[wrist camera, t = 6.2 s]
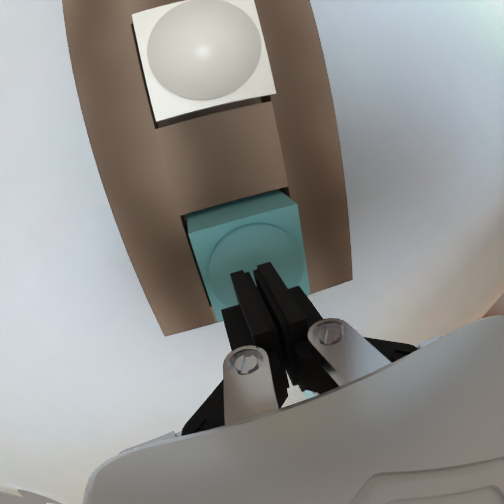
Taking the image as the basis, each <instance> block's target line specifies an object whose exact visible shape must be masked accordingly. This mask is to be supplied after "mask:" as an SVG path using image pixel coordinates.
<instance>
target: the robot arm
mask: <svg viewBox="0 0 504 504" xmlns="http://www.w3.org/2000/svg"><path fill="white" fill-rule="evenodd" d="M253 274H254V278H255V282H256V285H255V283H254V281H253V279H252V277H251V275H250V272H246V273H244V271H243V270H240V271H237V272H233V273H230V277H231V280H232V284H233V287H234V291H235V294H236V297H237V301H238V305H235V306H232V307H228V308H225V309H222V310H221V312H222V316H223V320H224V324H225V328H226V331H227V335H228V339H229V342H230V346H231V350H232V351H231V352H230V353H229V354H228V355H227V356H226V358H225V360H224V364H223V380H222V382H221V383H220V384H219V385H218V386H217V388H216V389H215V390H214V391H213V392H212V394H211V395H210V396H209V397H208V398H207V400H206V401H205V402H204V403H203V404H202V405H201V407H200V408H199V409H198V410H197V411H196V412H195V414H194V415H193V416H192V417H191V418H190V419H189V421H188V422H187V423H186V424H185V426H184V428H183V430H182V431H181V432H178V433H176V434H175V433H174V431H173V432H170V433H168V434H165V435H163V436H160V437H158V438H155V439H153V440H150V441H147V442H145V443H142V444H139V445H137V446H134V447H131V448H128V449H126V450H124V451H122V452H120V453H119V454H118V455H117V456H115V457H113V458H111V459H109V460H107V461H106V462H104V463H103V464H101V465H100V466H99V467H97V468H96V469H95V470H94V472H93V473H92V474H91V476H90V478H89V480H88V482H87V485H86V489H85V494H84V499H83V504H504V316H491V317H486V318H482V319H479V320H476V321H473V322H470V323H468V324H466V325H464V326H461V327H459V328H458V329H456V330H454V331H452V332H450V333H448V334H446V335H444V336H440V337H437V338H434V339H431V340H428V341H424V342H421V343H419V344H418V347H415V346H413V345H409V344H405V343H398V342H391V341H385V340H378V339H372V338H366V337H362V336H361V335H360V334H359V333H358V332H357V331H355V330H354V329H353V328H352V327H351V326H350V325H349V324H348V323H346V322H345V321H343V320H340V319H335V318H328V319H323V318H322V317H321V315H320V314H319V313H318V311H317V310H316V308H315V307H314V306H313V304H312V303H311V301H310V300H309V299H308V297H307V296H306V294H305V293H304V292H303V290H302V289H301V287H300V286H295V287H292V288H289V289H288V288H287V287H286V285H285V283H284V282H283V280H282V279H281V277H280V276H279V274H278V273H277V271H276V270H275V268H274V267H273V265H272V263H271V262H267V263H263V264H260V265H257V269H256V270H253ZM286 371H287V373H288V376H289V378H290V380H291V382H292V384H293V386H295V385H299V387H300V389H301V391H302V392H303V391H306V390H308V391H312V392H315V396H314V397H312V398H309V399H306V400H304V401H301V402H298V403H295V404H292V405H290V406H287V407H284V408H282V407H281V406H282V405H283V403H284V402H285V400H286V399H287V397H288V393H287V388H289V383H288V378H287V373H286Z"/></svg>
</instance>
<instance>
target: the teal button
mask: <svg viewBox="0 0 504 504" xmlns="http://www.w3.org/2000/svg"><path fill="white" fill-rule="evenodd" d="M187 222H188V235H189V238H190V241H191V244H192V248H193V251H194V254H195V257H196V260H197V263H198V266H199V269H200V272H201V275H202V278H203V281H204V284H205V287H206V290H207V293H208V296H209V299H210V302H211V304H212V307H213V310H214V313H215V316H216V319H217V322H221V321H224V320H223V316H222V312H221V310H222V309H225V308H228V307H232V306H235V305H238V301H237V297H236V294H235V291H234V287H233V284H232V280H231V277H230V273H233V272H237V271H240V270H243V271H244V273H246V272H250V275H251V277H252V279H253V281H254V283H255V285H256V282H255V278H254V274H253V270H256V269H257V265H260V264H263V263H267V262H271V263H272V265H273V267H274V268H275V270H276V271H277V273H278V274H279V276H280V277H281V279H282V280H283V282H284V283H285V285H286V287H287V288H288V289H289V288H292V287H295V286H300V287H301V289H302V290H303V292H304V293H305V294H306V295H310V287H309V279H308V272H307V265H306V258H305V251H304V244H303V238H302V231H301V225H300V218H299V212H298V206H297V203H295V202H294V201H293V200H292V199H290V198H289V197H288V196H287V195H285V194H284V193H283V192H281V191H280V190H279V189H276V190H272V191H268V192H264V193H260V194H256V195H252V196H249V197H245V198H241V199H237V200H234V201H230V202H226V203H223V204H219V205H216V206H212V207H208V208H205V209H201V210H198V211H194V212H191V213H188V214H187Z"/></svg>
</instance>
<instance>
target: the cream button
mask: <svg viewBox="0 0 504 504" xmlns="http://www.w3.org/2000/svg"><path fill="white" fill-rule="evenodd" d="M132 19H133V24H134V29H135V33H136V38H137V43H138V48H139V52H140V57H141V61H142V66H143V70H144V74H145V79H146V83H147V87H148V91H149V95H150V100H151V104H152V108H153V112H154V116H155V119H156V122H160V121H165V120H168V119H171V118H175V117H178V116H182V115H186V114H189V113H193V112H197V111H201V110H205V109H209V108H213V107H217V106H222V105H226V104H231V103H235V102H240V101H245V100H250V99H255V98H260V97H264V96H268V95H272V94H276V90H275V85H274V81H273V76H272V72H271V67H270V63H269V59H268V54H267V50H266V46H265V42H264V38H263V34H262V30H261V26H260V22H259V18H258V14H257V10H256V6H255V2H254V0H185V1H180V2H176V3H171V4H167V5H163V6H159V7H156V8H152V9H148V10H145V11H142V12H138V13H135V14H132Z"/></svg>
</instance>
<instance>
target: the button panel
mask: <svg viewBox="0 0 504 504" xmlns="http://www.w3.org/2000/svg"><path fill="white" fill-rule="evenodd" d="M180 1H185V0H62V4H63V13H64V20H65V28H66V35H67V41H68V47H69V53H70V59H71V64H72V69H73V74H74V79H75V84H76V88H77V93H78V97H79V102H80V106H81V110H82V114H83V118H84V122H85V126H86V129H87V133H88V137H89V140H90V144H91V148H92V151H93V154H94V158H95V161H96V164H97V168H98V171H99V174H100V177H101V180H102V183H103V187H104V190H105V193H106V195H107V198H108V201H109V204H110V207H111V210H112V213H113V216H114V218H115V221H116V224H117V226H118V229H119V232H120V234H121V237H122V240H123V242H124V245H125V247H126V250H127V252H128V255H129V257H130V260H131V262H132V265H133V267H134V270H135V272H136V274H137V277H138V279H139V281H140V284H141V286H142V288H143V291H144V293H145V295H146V297H147V300H148V302H149V304H150V306H151V308H152V311H153V313H154V315H155V317H156V319H157V321H158V323H159V325H160V327H161V330H162V332H163V334H164V336H169V335H173V334H177V333H180V332H184V331H188V330H192V329H195V328H199V327H203V326H206V325H210V324H213V323H217V319H216V316H215V313H214V310H213V307H212V304H211V302H210V299H209V296H208V293H207V290H206V287H205V284H204V281H203V278H202V275H201V272H200V269H199V266H198V263H197V260H196V257H195V254H194V251H193V248H192V244H191V241H190V238H189V235H188V222H187V214H188V213H191V212H194V211H198V210H201V209H205V208H208V207H212V206H216V205H219V204H223V203H226V202H230V201H234V200H237V199H241V198H245V197H249V196H252V195H256V194H260V193H264V192H268V191H272V190H276V189H279V190H280V191H281V192H283V193H284V194H285V195H287V196H288V197H289V198H290V199H292V200H293V201H294V202H295V203H297V206H298V212H299V218H300V225H301V231H302V238H303V244H304V251H305V258H306V265H307V272H308V279H309V287H310V294H312V293H315V292H318V291H321V290H324V289H327V288H330V287H333V286H336V285H339V284H342V283H344V282H347V281H350V280H352V260H351V245H350V231H349V219H348V208H347V198H346V189H345V180H344V172H343V164H342V157H341V149H340V142H339V136H338V129H337V123H336V117H335V111H334V105H333V100H332V95H331V89H330V84H329V79H328V74H327V69H326V65H325V60H324V55H323V51H322V47H321V42H320V38H319V34H318V30H317V26H316V22H315V18H314V15H313V11H312V7H311V4H310V0H254V2H255V6H256V10H257V14H258V18H259V22H260V26H261V30H262V34H263V38H264V42H265V46H266V50H267V54H268V59H269V63H270V67H271V72H272V76H273V81H274V85H275V90H276V94H272V95H268V96H264V97H260V98H255V99H250V100H245V101H240V102H235V103H231V104H226V105H222V106H217V107H213V108H209V109H205V110H201V111H197V112H193V113H189V114H186V115H182V116H178V117H175V118H171V119H168V120H165V121H160V122H156V119H155V116H154V112H153V108H152V104H151V100H150V95H149V91H148V87H147V83H146V79H145V74H144V70H143V66H142V61H141V57H140V52H139V48H138V43H137V38H136V33H135V29H134V24H133V19H132V14H135V13H138V12H142V11H145V10H148V9H152V8H156V7H159V6H163V5H167V4H171V3H176V2H180Z"/></svg>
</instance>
